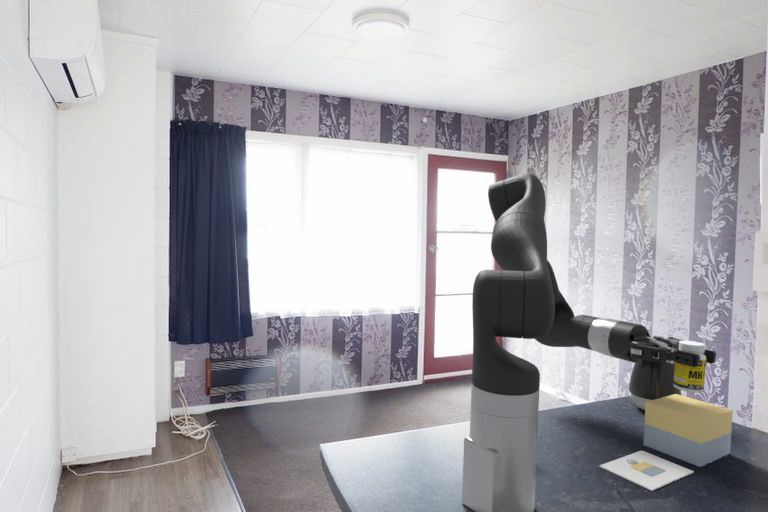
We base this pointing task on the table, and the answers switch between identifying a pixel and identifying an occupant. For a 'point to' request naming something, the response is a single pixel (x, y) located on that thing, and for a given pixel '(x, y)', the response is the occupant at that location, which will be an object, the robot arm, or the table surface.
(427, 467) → the table surface
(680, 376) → the supplement bottle
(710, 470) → the table surface
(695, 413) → the yellow and grey block
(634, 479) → the page
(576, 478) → the table surface
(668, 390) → the pump dispenser
